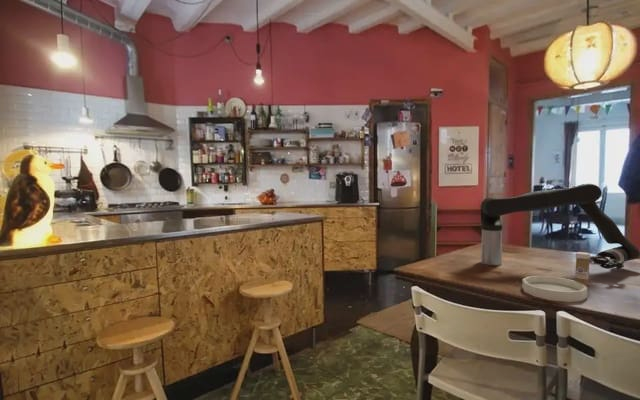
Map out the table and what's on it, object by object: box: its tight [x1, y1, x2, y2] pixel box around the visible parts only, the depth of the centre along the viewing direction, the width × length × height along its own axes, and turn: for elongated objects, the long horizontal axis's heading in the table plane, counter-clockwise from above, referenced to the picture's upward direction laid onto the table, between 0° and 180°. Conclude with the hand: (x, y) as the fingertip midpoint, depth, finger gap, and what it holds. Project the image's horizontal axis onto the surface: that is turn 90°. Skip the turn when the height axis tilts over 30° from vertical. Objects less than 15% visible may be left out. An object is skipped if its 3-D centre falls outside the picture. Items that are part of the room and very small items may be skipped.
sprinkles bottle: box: [574, 251, 591, 288], centre depth 142 cm, size 5×5×14 cm
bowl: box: [521, 275, 589, 303], centre depth 136 cm, size 20×20×4 cm
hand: (594, 264), depth 148 cm, fingers open, 8 cm apart
